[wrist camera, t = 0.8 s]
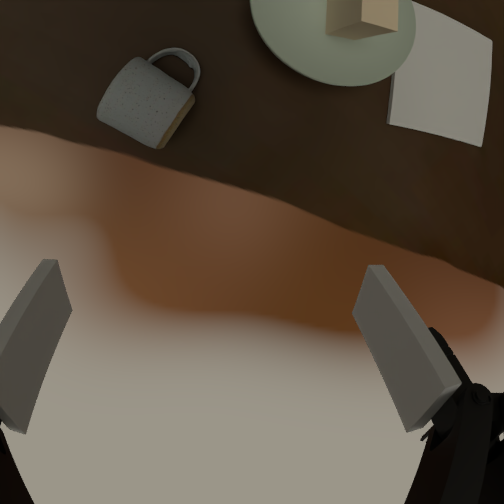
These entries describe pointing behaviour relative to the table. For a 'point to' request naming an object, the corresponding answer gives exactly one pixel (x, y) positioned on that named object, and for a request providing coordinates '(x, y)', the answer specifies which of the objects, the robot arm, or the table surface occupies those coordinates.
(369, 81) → the lid
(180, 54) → the ceramic mug
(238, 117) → the table surface
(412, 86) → the mat
